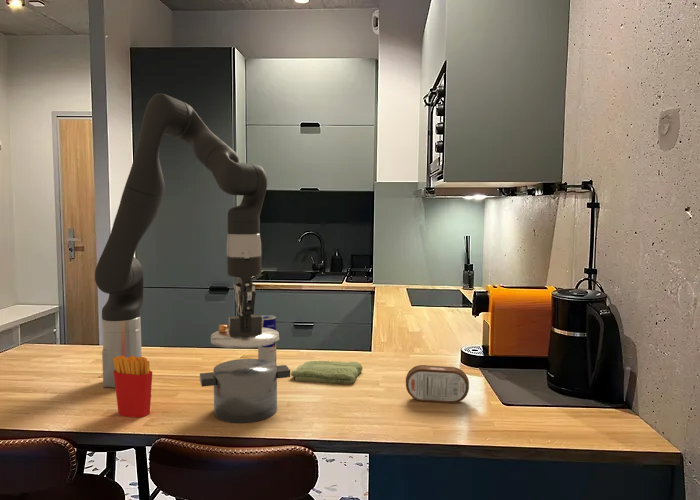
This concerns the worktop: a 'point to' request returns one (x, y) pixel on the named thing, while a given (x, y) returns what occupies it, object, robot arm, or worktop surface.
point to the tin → (437, 384)
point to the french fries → (132, 385)
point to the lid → (244, 334)
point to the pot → (245, 389)
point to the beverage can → (269, 350)
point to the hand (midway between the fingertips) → (245, 330)
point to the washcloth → (328, 372)
